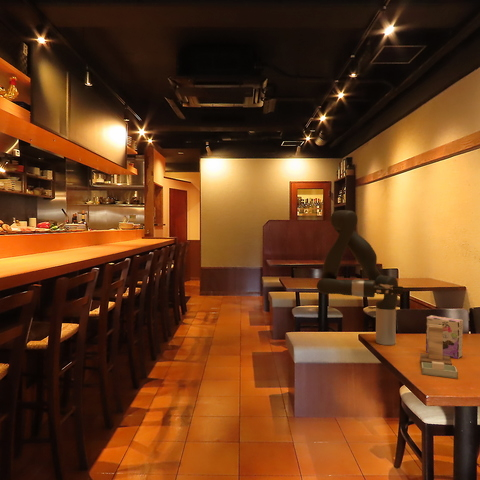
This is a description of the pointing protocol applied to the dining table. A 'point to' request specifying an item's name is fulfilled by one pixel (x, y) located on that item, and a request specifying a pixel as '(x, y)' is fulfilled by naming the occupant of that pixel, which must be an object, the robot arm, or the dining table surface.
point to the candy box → (448, 335)
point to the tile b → (438, 365)
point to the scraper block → (435, 341)
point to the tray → (440, 371)
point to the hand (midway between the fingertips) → (403, 290)
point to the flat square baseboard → (426, 359)
